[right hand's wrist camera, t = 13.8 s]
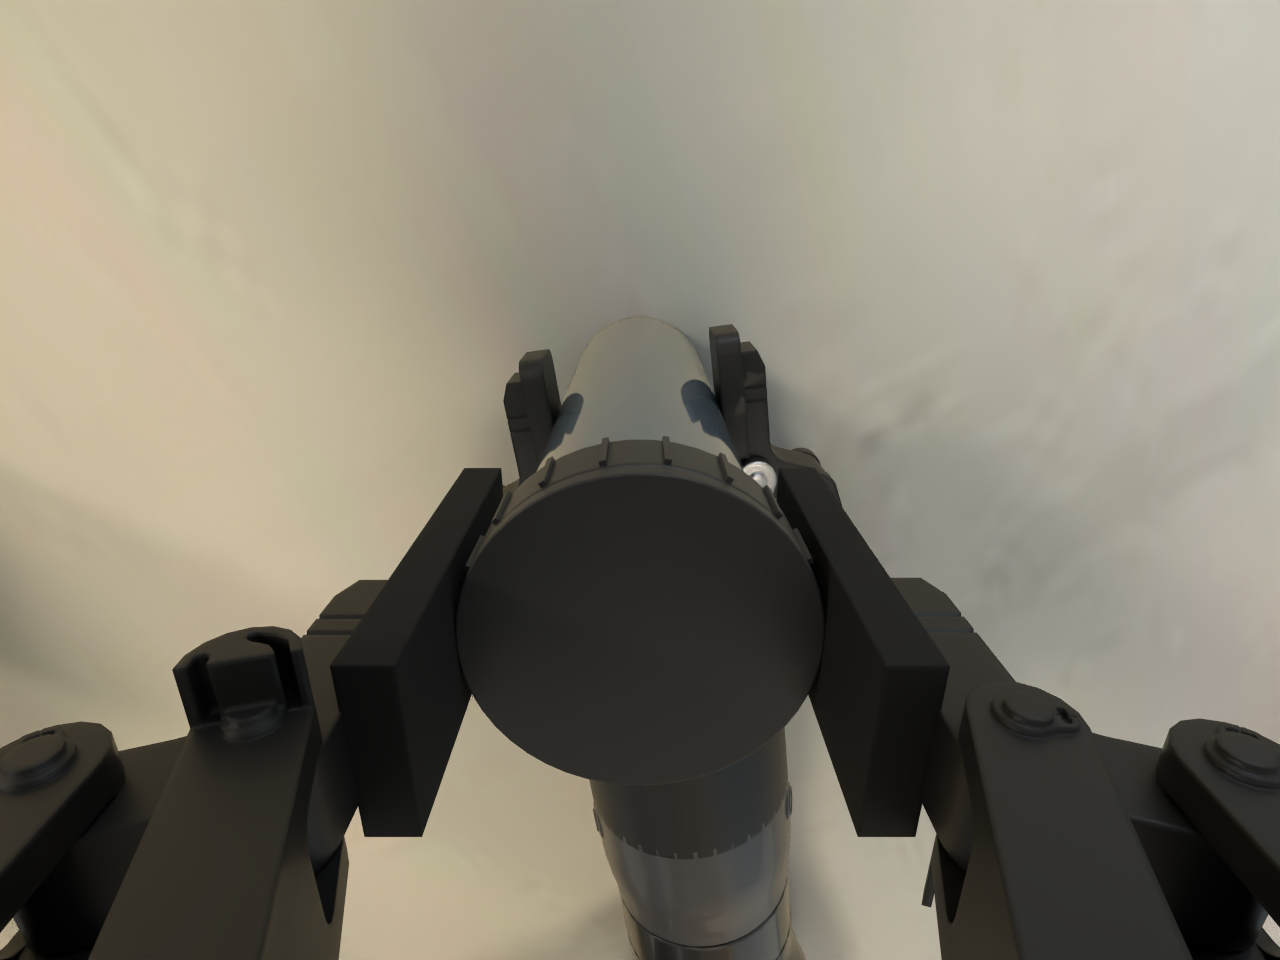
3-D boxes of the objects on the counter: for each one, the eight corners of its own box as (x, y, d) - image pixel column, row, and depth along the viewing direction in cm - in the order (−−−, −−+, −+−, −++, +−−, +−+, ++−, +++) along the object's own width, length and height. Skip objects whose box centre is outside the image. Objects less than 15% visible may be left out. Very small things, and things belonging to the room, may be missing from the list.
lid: (407, 604, 12) (374, 660, 11) (621, 358, 10) (618, 382, 9) (653, 771, 14) (654, 841, 12) (875, 576, 12) (908, 629, 10)
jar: (551, 387, 27) (423, 641, 11) (633, 289, 25) (623, 419, 10) (645, 464, 28) (653, 794, 12) (729, 375, 27) (860, 616, 11)
